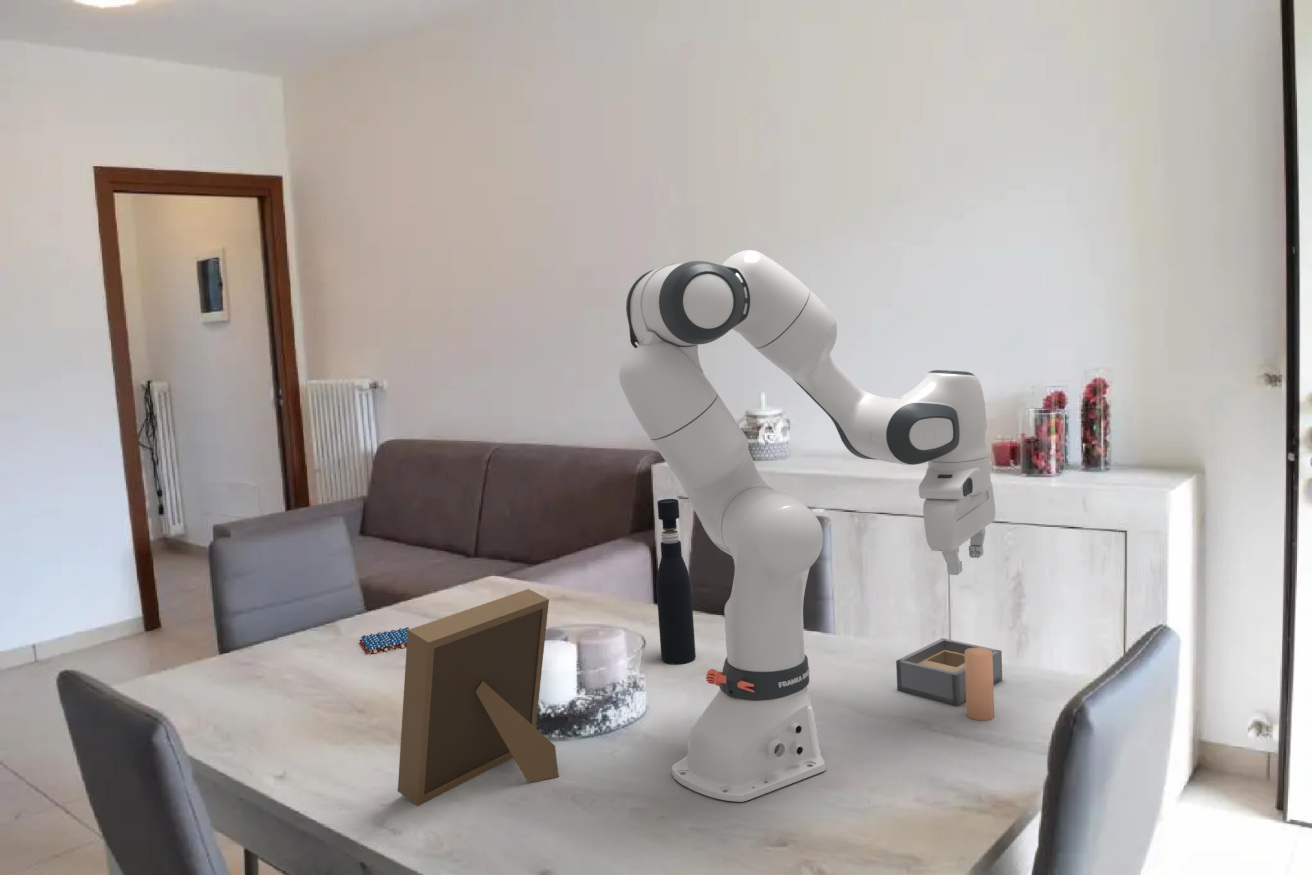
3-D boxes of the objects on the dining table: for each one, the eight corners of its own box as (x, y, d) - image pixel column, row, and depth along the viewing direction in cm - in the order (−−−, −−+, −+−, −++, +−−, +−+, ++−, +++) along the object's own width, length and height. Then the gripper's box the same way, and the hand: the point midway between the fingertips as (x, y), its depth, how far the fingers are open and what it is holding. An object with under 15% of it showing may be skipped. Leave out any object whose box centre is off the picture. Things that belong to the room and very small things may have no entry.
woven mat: (358, 644, 211) (357, 635, 211) (409, 634, 215) (408, 625, 215) (366, 658, 202) (365, 648, 201) (419, 647, 206) (418, 638, 206)
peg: (985, 722, 150) (983, 658, 149) (961, 716, 153) (959, 652, 152) (999, 714, 153) (997, 650, 152) (975, 707, 156) (973, 645, 154)
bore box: (957, 705, 157) (956, 675, 156) (897, 689, 165) (896, 660, 164) (1002, 679, 166) (1001, 650, 166) (943, 665, 174) (942, 638, 174)
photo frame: (398, 797, 139) (382, 623, 136) (514, 740, 155) (502, 583, 152) (468, 828, 129) (452, 641, 126) (584, 764, 146) (573, 597, 143)
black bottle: (682, 666, 183) (671, 505, 179) (654, 661, 187) (643, 502, 183) (702, 655, 188) (692, 498, 184) (674, 650, 192) (664, 496, 188)
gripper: (962, 462, 161) (969, 546, 163) (913, 489, 145) (921, 582, 147) (1002, 462, 157) (1008, 548, 159) (956, 490, 141) (963, 585, 143)
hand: (966, 564), depth 153 cm, fingers open, 8 cm apart
